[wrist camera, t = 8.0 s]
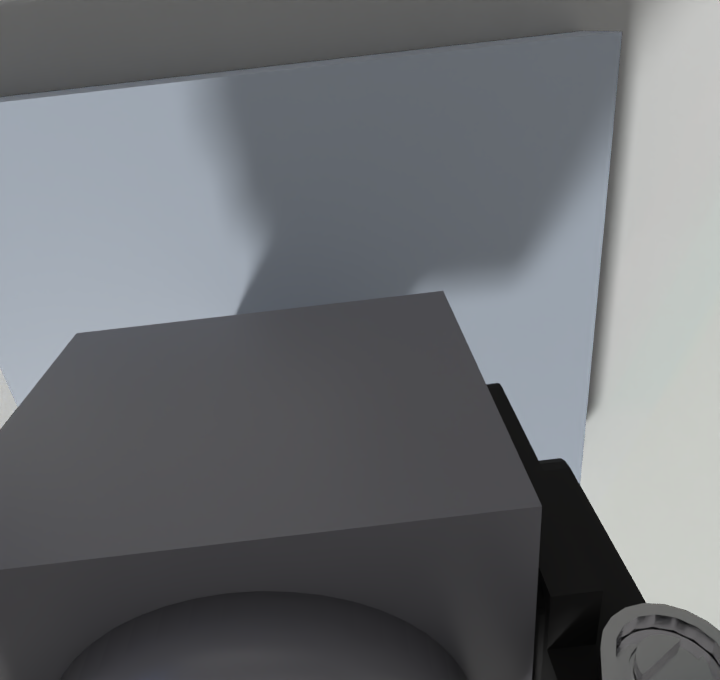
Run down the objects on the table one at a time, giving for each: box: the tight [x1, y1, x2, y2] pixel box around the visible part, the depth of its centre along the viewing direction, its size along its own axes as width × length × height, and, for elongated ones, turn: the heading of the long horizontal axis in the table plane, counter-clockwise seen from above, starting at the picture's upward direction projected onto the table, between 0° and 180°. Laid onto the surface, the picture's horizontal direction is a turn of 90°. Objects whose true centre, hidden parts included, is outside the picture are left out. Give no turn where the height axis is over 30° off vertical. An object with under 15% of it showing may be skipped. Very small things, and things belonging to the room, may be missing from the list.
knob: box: [0, 291, 542, 680], centre depth 8 cm, size 6×6×6 cm
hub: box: [0, 31, 622, 484], centre depth 14 cm, size 14×12×5 cm
